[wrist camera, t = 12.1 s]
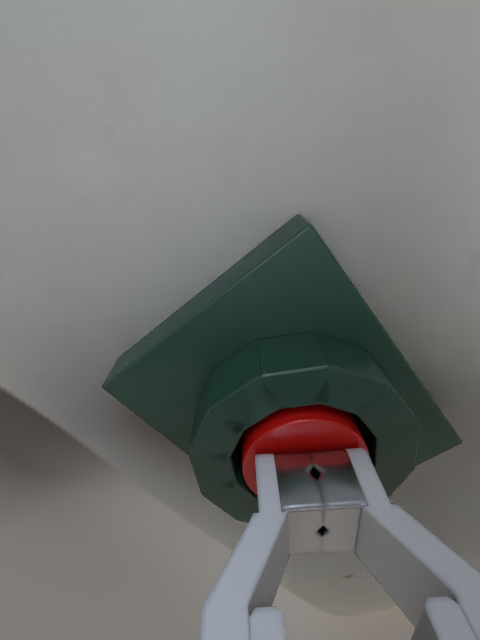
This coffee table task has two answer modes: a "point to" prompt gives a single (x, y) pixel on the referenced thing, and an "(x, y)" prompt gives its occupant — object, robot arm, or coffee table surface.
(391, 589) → the robot arm
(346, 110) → the coffee table surface
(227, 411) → the button box
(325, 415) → the button
